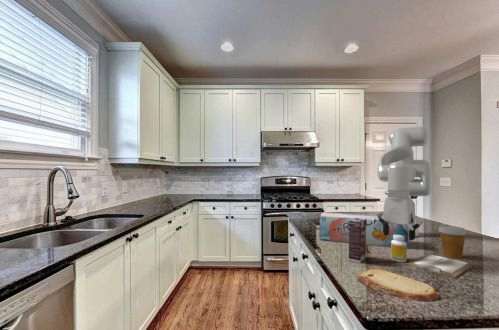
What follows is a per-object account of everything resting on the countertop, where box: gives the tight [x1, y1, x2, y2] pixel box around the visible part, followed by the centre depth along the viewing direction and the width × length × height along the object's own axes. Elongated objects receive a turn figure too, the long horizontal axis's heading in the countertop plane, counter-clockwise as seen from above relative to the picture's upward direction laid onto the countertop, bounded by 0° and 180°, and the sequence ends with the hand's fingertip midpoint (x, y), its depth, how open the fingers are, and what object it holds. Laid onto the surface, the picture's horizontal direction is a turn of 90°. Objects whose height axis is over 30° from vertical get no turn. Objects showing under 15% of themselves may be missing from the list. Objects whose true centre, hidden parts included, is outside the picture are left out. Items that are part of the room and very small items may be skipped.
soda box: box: [318, 211, 409, 250], centre depth 134 cm, size 41×14×13 cm, turn 69°
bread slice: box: [356, 267, 440, 302], centre depth 81 cm, size 18×18×4 cm
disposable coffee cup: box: [438, 225, 467, 260], centre depth 110 cm, size 10×10×12 cm
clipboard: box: [407, 253, 475, 279], centre depth 99 cm, size 15×20×2 cm
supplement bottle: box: [390, 235, 408, 263], centre depth 105 cm, size 5×5×10 cm
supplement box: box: [348, 218, 367, 264], centre depth 106 cm, size 9×5×16 cm, turn 142°
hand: (398, 237), depth 105 cm, fingers open, 9 cm apart
